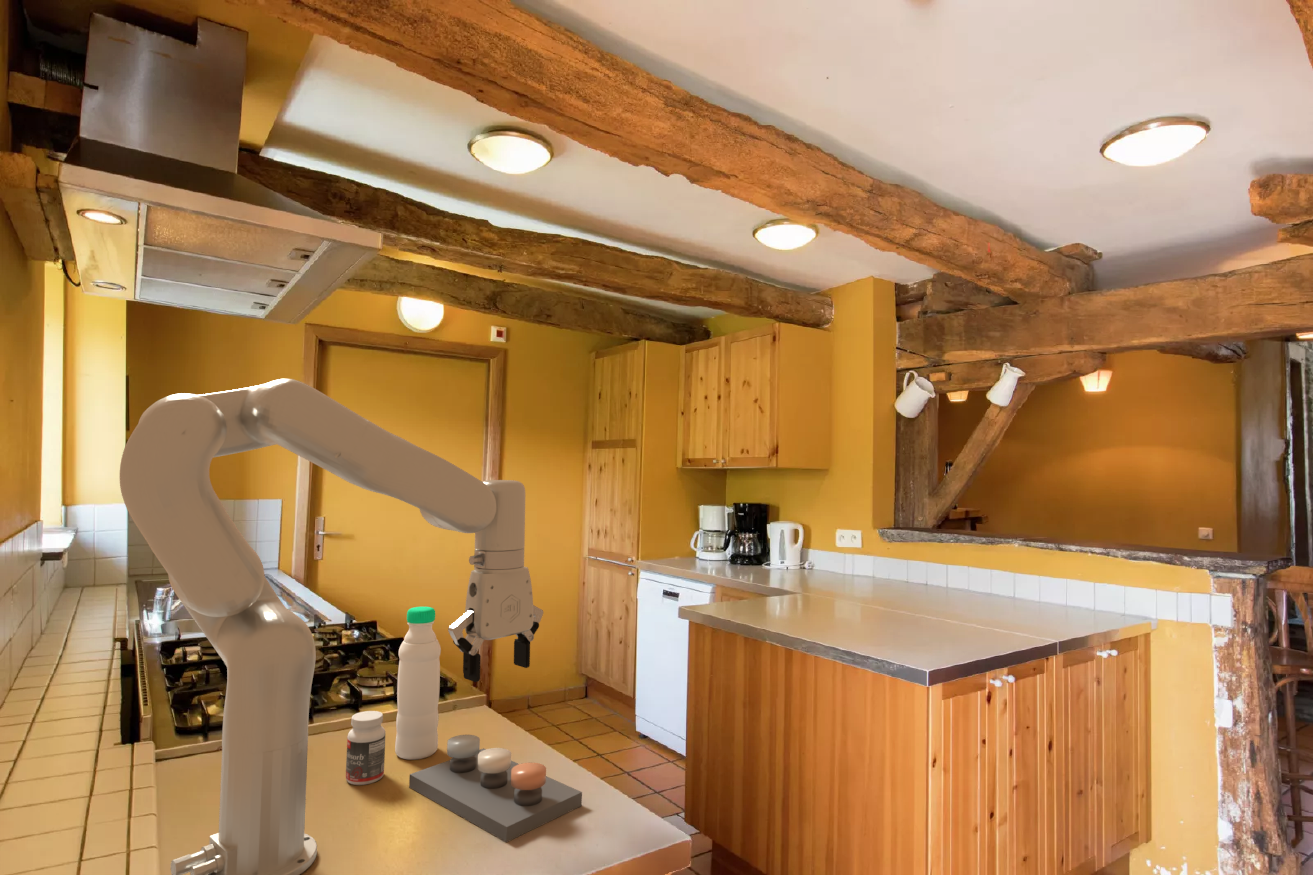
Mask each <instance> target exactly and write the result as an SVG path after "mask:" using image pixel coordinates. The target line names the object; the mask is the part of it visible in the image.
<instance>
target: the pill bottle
mask: <svg viewBox="0 0 1313 875" xmlns="http://www.w3.org/2000/svg"><path fill="white" fill-rule="evenodd" d="M383 714H384V713H382V712H381V711H377V710H366V711H360V712H356V713H355V714H353V715H351V723H350V725H351V726H352V728H351V729H350V730H349V732H348V733H347V737H346V741H347V742H346V759H345V760H346V762H345V763H346V765H345V780H346V782H347V783H349V784H351V785H354V786H363V785H369V784H374V783H375V782H378V781H379V780H381V779H382V778H383V777H384V773H385V760H386V759H385V758H386V756H385V752H386V729H385V728H384V727H383V725H382V724H383V721H384V715H383Z"/></svg>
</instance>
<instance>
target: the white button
mask: <svg viewBox="0 0 1313 875" xmlns="http://www.w3.org/2000/svg"><path fill="white" fill-rule="evenodd" d="M485 749H486V748H485ZM511 761H512V752H511V750H509V749H507V748H504V747H502V748H501V747H492V748H487V749H486V750H483V751H481V752H480V753H479V754H478V770H479V771H481V772H484V773H500V772H504V771H506V770H508V769H509V768H510V767H511Z"/></svg>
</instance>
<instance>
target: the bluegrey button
mask: <svg viewBox="0 0 1313 875" xmlns="http://www.w3.org/2000/svg"><path fill="white" fill-rule="evenodd" d="M480 741H481V739H480V737H479V736H477V735H474V734H459V735H458V734H457V735H454V736H453V737H450V738H449V739H448V740H447V743H446V744H447V746H446V747H447V748H446V750H447V752H446V755H447V756H448V757H450V758H468V757H472V756H475V755H477V754H478V753H479V750H480V749H481V748H480V747H481V746H480V744H481V742H480Z"/></svg>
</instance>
